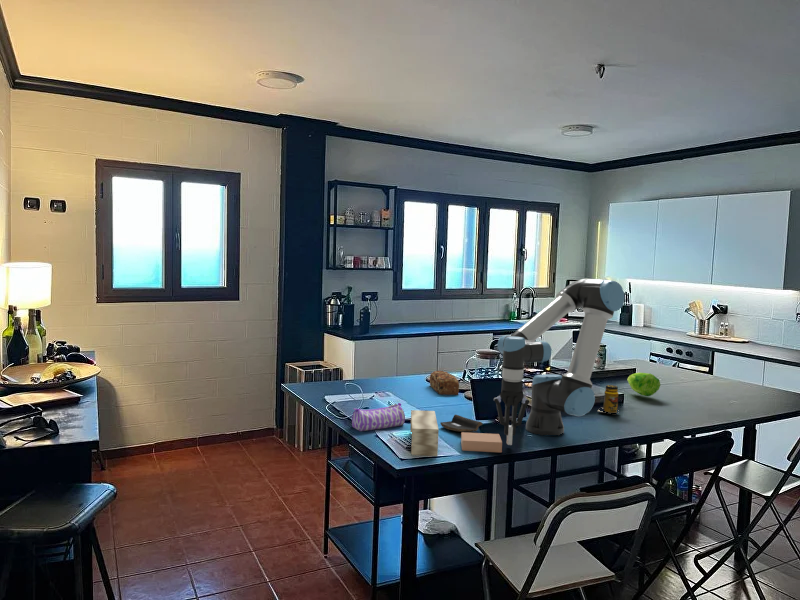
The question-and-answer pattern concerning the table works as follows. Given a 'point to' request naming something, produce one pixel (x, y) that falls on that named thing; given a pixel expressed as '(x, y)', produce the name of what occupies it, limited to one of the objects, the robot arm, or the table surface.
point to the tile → (481, 442)
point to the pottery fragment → (462, 424)
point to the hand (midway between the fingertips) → (509, 443)
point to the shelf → (424, 433)
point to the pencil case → (378, 418)
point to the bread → (444, 383)
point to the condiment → (610, 399)
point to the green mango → (644, 383)
